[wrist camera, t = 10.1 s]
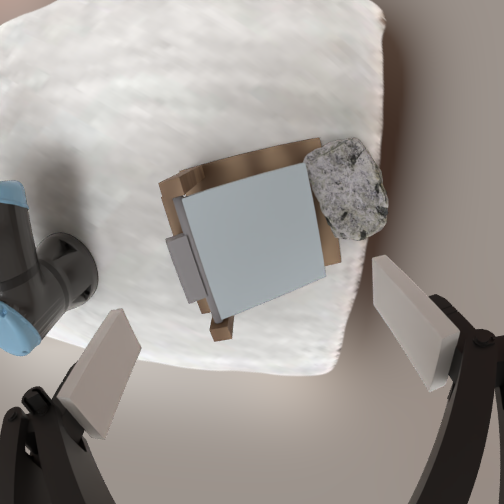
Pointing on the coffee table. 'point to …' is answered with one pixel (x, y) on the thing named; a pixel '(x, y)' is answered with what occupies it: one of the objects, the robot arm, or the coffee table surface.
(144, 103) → the coffee table surface
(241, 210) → the trapdoor
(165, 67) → the coffee table surface
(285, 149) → the frame
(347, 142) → the rock
